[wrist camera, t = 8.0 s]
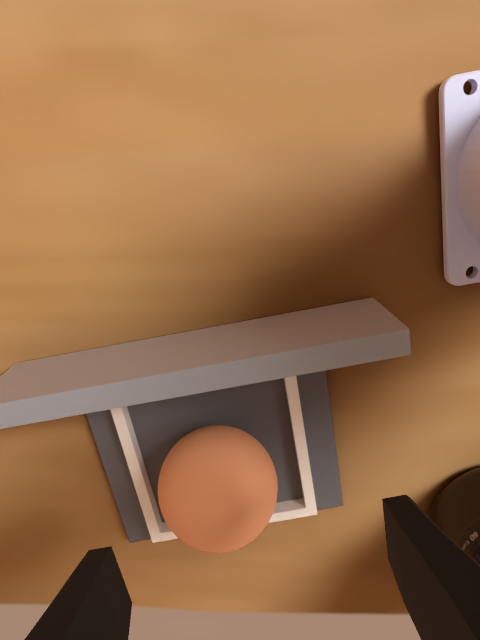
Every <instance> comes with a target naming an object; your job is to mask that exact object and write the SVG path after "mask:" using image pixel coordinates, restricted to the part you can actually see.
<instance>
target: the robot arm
mask: <svg viewBox="0 0 480 640" xmlns="http://www.w3.org/2000/svg"><path fill="white" fill-rule="evenodd" d="M466 81H468V82H470V83H471V86H472V89H471V92H470V94H469V95H466V94H465V93H464V91H463V86H464V83H465V82H466ZM439 124H440V157H441V190H442V223H443V257H444V277H445V280H446V281H447V282H448V283H450V284H452V285H455V286H461V285H467V284H472V283H477V282H480V70H477V71H472V72H467V73H462V74H457V75H454V76H451V77H449V78H446V79H445V80H444V81H443V82H442V84H441V86H440V88H439ZM471 266H473V272H472V273H471V275H469V276H466V270H467V269H468V268H469V267H471ZM382 501H383V511H384V521H385V530H386V540H387V550H388V559H389V562H390V565H391V568H392V570H393V573H394V576H395V579H396V582H397V585H398V587H399V590H400V593H401V596H402V598H403V601H404V603H405V605H406V608H407V610H408V612H409V614H410V616H411V618H412V621H413V623H414V625H415V627H416V629H417V631H418V633H419V636H420V638H421V640H480V565H479V564H478V563H477V562H476V561H475V560H474V559H472V558H471V557H470V556H469V555H468V554H467V553H466V552H465V551H464V550H462V549H461V548H460V547H459V546H458V545H457V544H456V543H455V542H454V541H453V540H452V539H451V538H449V537H448V536H447V535H446V534H445V533H444V532H443V531H442V530H441V529H440V528H439V527H438V526H437V525H436V524H435V523H434V522H433V521H432V520H431V519H430V518H429V517H428V516H427V515H426V514H425V513H424V512H423V511H422V510H421V509H420V508H419V507H418V506H417V505H416V503H415V502H414V501H413V500H412V499H411V498H410V497H408V496H407V495H402V496H396V497H390V498H385V499H382ZM131 607H132V601H131V598H130V596H129V593H128V590H127V588H126V585H125V582H124V580H123V577H122V574H121V571H120V569H119V566H118V563H117V561H116V558H115V555H114V553H113V550H112V547H105V548H99V549H94V550H89V551H88V552H87V554H86V555H85V556H84V558H83V559H82V561H81V562H80V563H79V565H78V566H77V567H76V569H75V570H74V572H73V573H72V575H71V576H70V577H69V579H68V580H67V582H66V583H65V585H64V586H63V587H62V589H61V590H60V592H59V593H58V594H57V596H56V597H55V599H54V600H53V601H52V603H51V604H50V606H49V607H48V608H47V610H46V611H45V613H44V614H43V615H42V617H41V618H40V619H39V621H38V622H37V623H36V625H35V626H34V628H33V629H32V630H31V632H30V633H29V635H28V636H27V637H26V638H25V640H128V635H129V627H130V616H131Z"/></svg>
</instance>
